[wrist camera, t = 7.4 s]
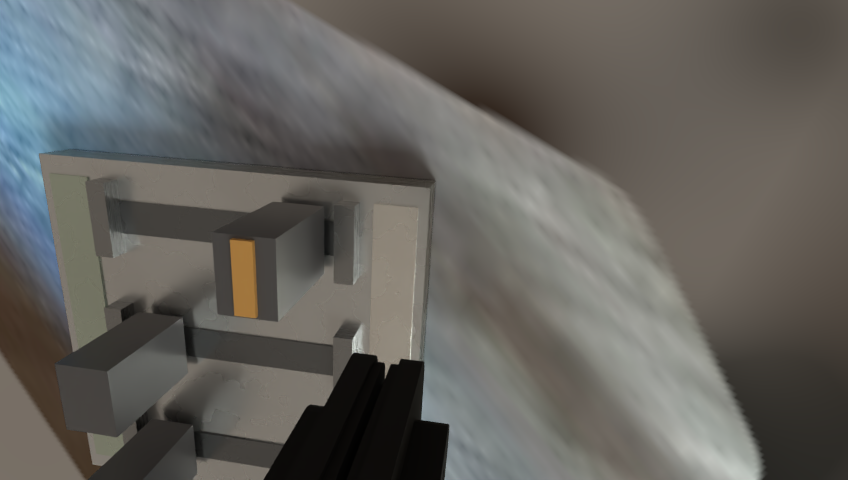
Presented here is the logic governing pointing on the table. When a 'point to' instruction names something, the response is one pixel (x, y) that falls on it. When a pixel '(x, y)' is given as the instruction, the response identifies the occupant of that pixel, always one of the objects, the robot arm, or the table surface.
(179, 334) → the handle middle
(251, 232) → the orange striped slider handle
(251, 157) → the table surface
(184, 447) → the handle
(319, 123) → the table surface
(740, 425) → the table surface
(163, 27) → the table surface
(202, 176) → the panel
